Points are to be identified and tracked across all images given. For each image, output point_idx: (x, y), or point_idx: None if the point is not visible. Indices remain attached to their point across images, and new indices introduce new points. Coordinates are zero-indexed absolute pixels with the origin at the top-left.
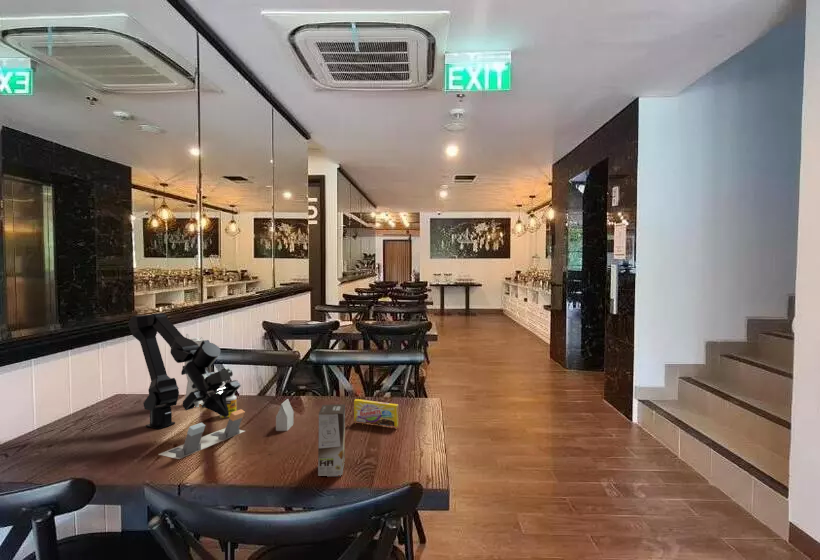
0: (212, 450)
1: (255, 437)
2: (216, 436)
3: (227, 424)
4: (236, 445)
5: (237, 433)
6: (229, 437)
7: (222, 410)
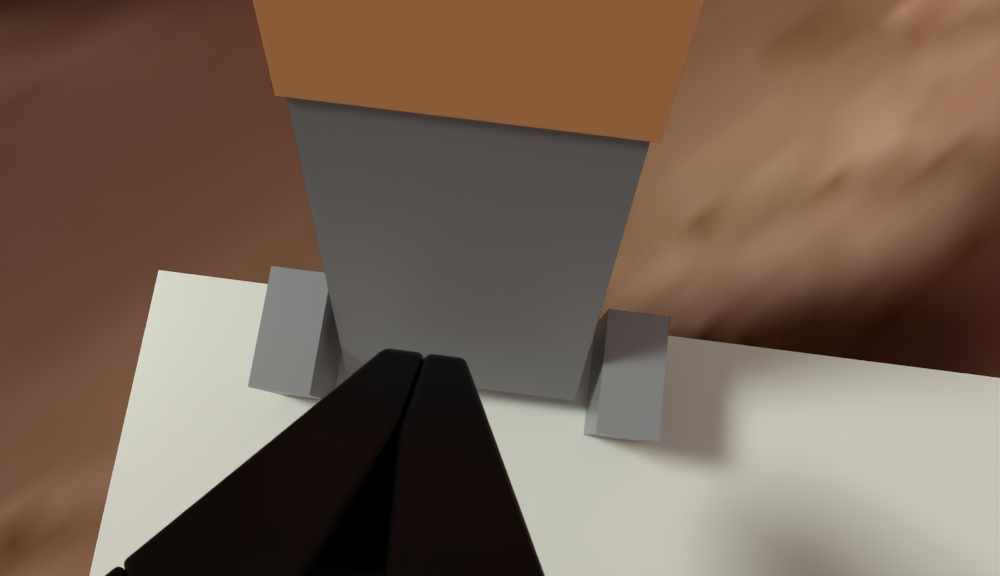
0: None
1: (226, 114)
2: None
3: (616, 251)
4: None
5: None
6: None
7: (506, 506)
